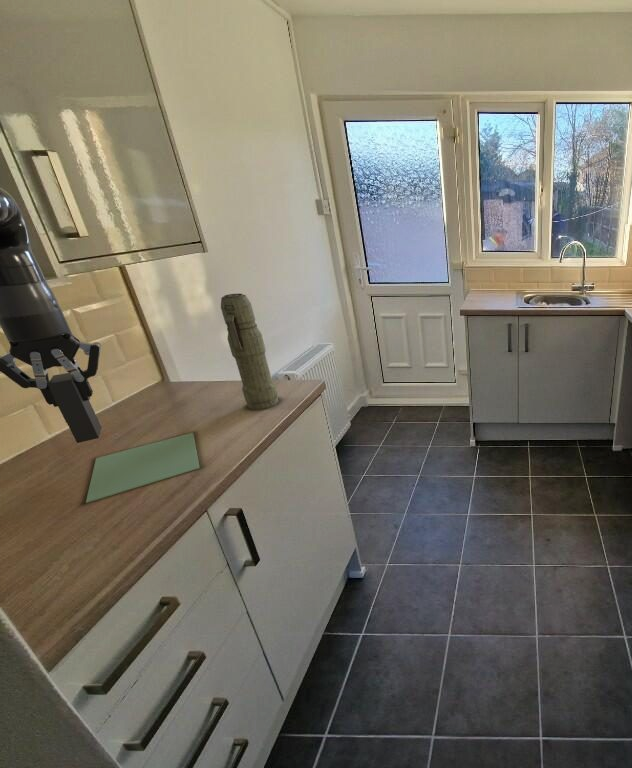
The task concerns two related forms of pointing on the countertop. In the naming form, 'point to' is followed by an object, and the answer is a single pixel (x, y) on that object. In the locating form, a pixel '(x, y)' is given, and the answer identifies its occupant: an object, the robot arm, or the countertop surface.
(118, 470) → the mat
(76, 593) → the countertop surface
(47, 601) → the countertop surface
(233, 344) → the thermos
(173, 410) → the countertop surface
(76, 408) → the dark grey tall block
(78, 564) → the countertop surface
